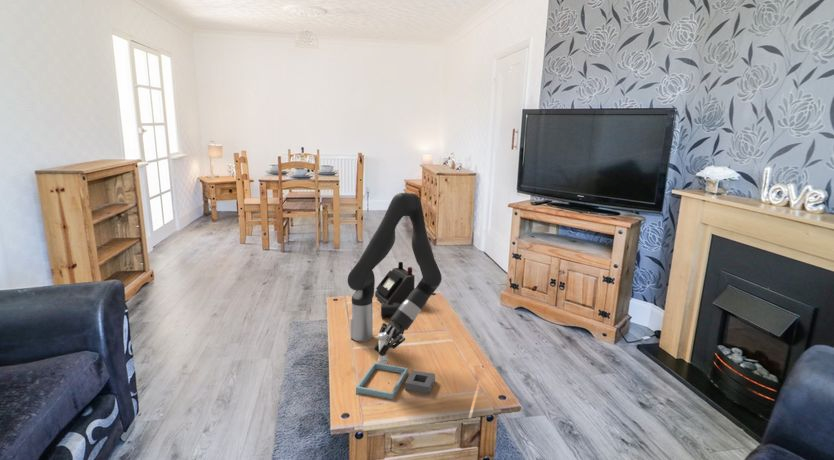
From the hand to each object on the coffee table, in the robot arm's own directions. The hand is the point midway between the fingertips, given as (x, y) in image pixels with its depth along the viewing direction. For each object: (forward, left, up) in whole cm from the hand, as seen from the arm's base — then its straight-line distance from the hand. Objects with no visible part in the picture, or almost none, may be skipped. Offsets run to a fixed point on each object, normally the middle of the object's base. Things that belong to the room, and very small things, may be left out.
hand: (378, 352), depth 163 cm
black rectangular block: (-16, +60, -14) cm, 63 cm away
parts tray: (+1, +2, -14) cm, 14 cm away
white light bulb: (+1, +2, -4) cm, 5 cm away
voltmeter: (-21, +80, -14) cm, 83 cm away
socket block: (+15, +4, -14) cm, 21 cm away
